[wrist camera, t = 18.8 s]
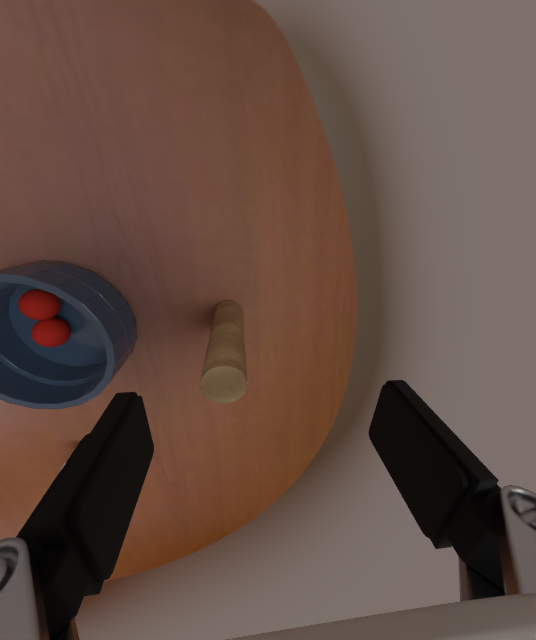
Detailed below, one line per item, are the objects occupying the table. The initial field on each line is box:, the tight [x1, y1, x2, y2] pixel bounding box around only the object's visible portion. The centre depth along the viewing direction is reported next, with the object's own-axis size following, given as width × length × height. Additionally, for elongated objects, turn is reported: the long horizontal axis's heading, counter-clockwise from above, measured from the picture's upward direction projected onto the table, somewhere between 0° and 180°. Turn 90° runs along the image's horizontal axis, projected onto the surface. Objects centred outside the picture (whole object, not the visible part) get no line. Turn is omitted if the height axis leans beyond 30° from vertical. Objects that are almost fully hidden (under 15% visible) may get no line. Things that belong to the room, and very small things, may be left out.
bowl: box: [0, 260, 137, 409], centre depth 24 cm, size 13×13×6 cm
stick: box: [200, 301, 247, 403], centre depth 22 cm, size 3×3×13 cm
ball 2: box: [31, 318, 71, 347], centre depth 25 cm, size 3×3×3 cm
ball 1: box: [18, 289, 61, 320], centre depth 23 cm, size 3×3×3 cm
